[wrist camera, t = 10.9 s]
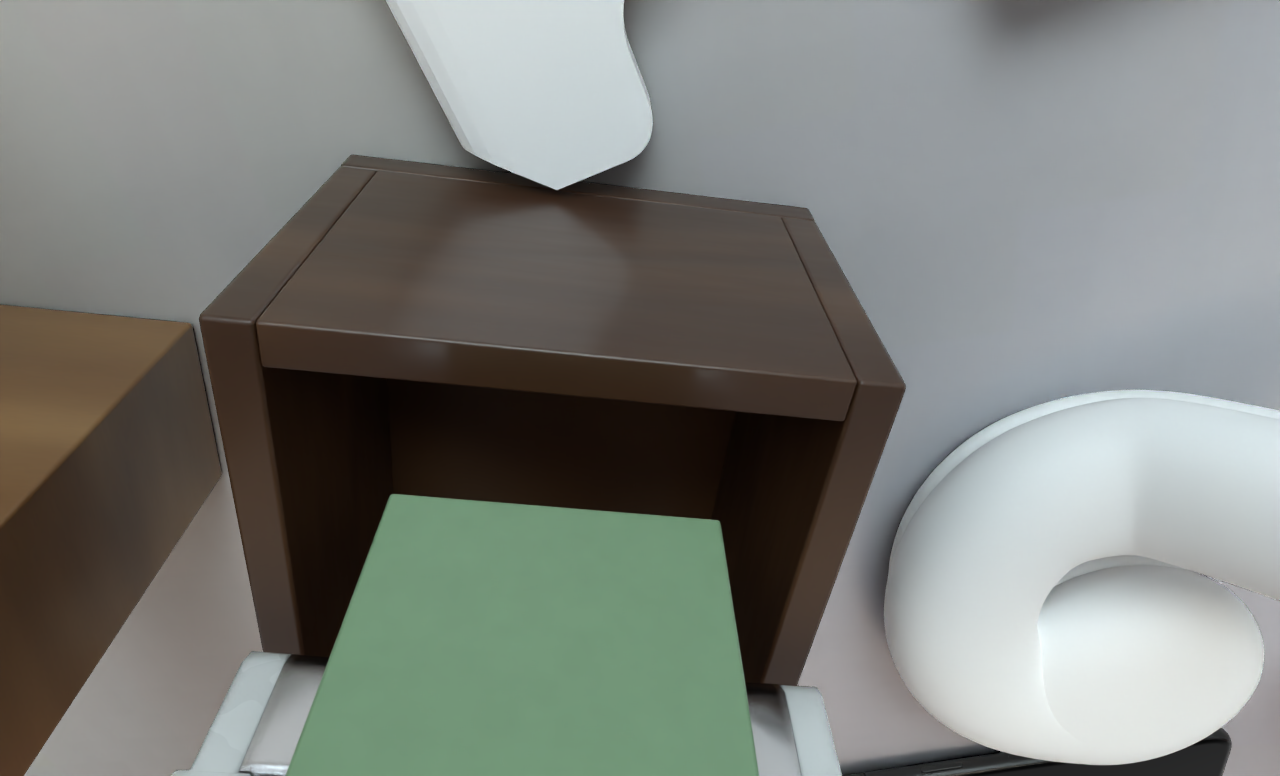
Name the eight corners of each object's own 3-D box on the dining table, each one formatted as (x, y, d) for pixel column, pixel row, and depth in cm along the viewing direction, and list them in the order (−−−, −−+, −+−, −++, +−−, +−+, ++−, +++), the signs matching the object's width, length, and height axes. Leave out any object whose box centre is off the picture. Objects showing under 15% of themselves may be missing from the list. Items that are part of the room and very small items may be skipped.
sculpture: (870, 720, 29) (943, 967, 23) (868, 383, 21) (981, 615, 15) (1210, 681, 29) (1389, 926, 22) (1342, 315, 21) (1688, 528, 14)
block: (401, 701, 13) (312, 1040, 9) (389, 491, 11) (262, 831, 7) (673, 717, 13) (693, 1049, 10) (720, 518, 11) (773, 854, 7)
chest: (350, 153, 18) (195, 315, 11) (809, 207, 19) (908, 386, 12) (379, 579, 25) (295, 827, 19) (708, 603, 26) (738, 847, 20)
